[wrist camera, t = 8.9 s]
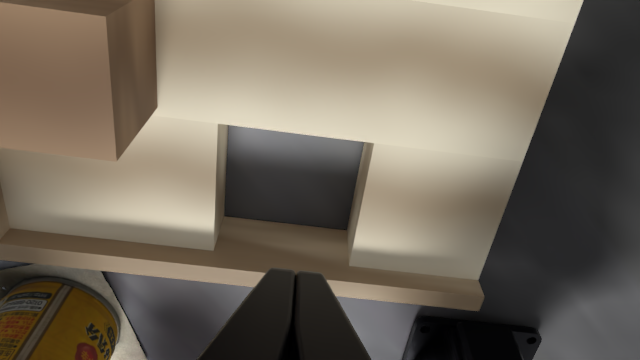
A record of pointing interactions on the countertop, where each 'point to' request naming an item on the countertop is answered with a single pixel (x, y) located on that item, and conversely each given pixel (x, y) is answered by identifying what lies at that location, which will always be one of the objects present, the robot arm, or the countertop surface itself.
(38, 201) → the box
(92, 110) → the walnut block
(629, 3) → the countertop surface
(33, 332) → the condiment
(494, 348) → the robot arm
